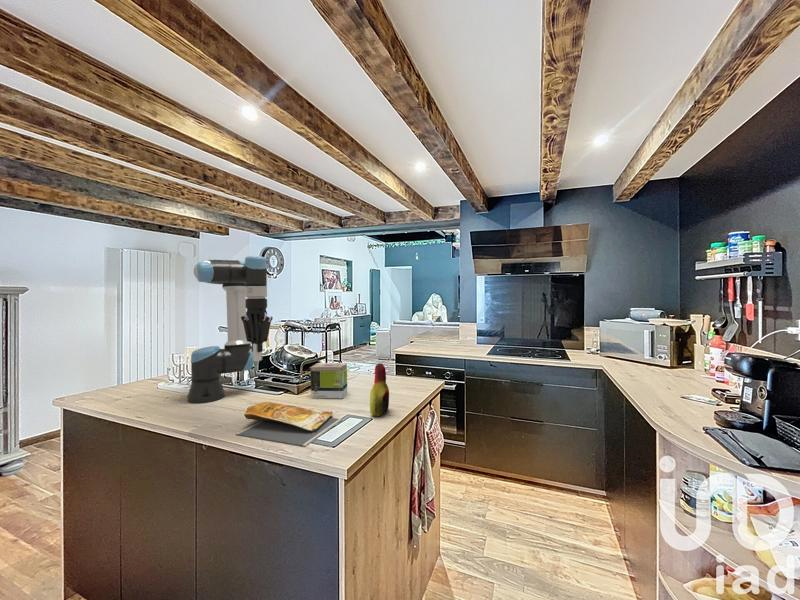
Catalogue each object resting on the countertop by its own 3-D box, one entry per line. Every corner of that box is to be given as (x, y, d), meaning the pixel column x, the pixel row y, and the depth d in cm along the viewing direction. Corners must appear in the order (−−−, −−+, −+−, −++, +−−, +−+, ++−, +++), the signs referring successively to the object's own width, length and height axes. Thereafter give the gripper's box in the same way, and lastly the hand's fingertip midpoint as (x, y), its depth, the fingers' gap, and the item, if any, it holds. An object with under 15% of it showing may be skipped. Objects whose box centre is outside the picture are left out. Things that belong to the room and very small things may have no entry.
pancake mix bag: (268, 415, 143) (334, 419, 138) (240, 427, 124) (315, 433, 119) (269, 398, 143) (334, 402, 139) (241, 408, 124) (316, 412, 120)
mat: (235, 435, 120) (235, 433, 120) (281, 411, 143) (281, 410, 143) (304, 446, 111) (304, 445, 111) (341, 420, 133) (341, 419, 133)
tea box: (347, 392, 169) (347, 362, 169) (342, 399, 159) (342, 367, 159) (317, 392, 171) (317, 362, 170) (310, 398, 161) (310, 366, 160)
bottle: (380, 407, 148) (380, 360, 147) (394, 409, 145) (393, 361, 145) (366, 416, 137) (366, 366, 136) (380, 419, 134) (380, 367, 134)
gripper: (234, 298, 129) (235, 361, 130) (263, 298, 125) (264, 363, 125) (249, 297, 136) (250, 357, 137) (277, 297, 132) (278, 359, 132)
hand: (257, 360), depth 131 cm, fingers closed
